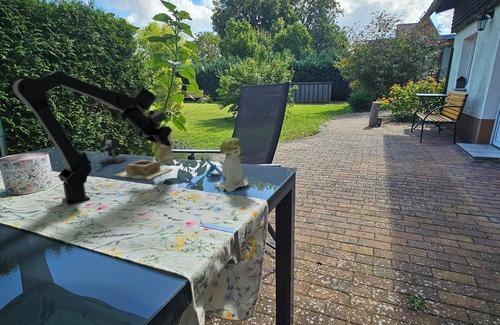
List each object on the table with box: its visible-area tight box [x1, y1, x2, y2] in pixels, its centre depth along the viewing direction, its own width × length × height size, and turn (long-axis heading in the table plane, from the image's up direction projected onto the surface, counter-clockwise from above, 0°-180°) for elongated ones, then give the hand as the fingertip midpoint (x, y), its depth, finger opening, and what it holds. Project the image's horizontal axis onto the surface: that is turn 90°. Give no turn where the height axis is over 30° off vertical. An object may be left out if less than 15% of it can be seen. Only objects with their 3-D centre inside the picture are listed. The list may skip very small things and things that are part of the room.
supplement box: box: [153, 142, 159, 161], centre depth 146 cm, size 6×6×11 cm
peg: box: [157, 132, 174, 165], centre depth 114 cm, size 4×4×14 cm
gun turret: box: [99, 136, 128, 165], centre depth 142 cm, size 13×20×13 cm, turn 14°
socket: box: [113, 159, 173, 181], centre depth 123 cm, size 18×16×5 cm
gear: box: [204, 158, 222, 177], centre depth 119 cm, size 11×6×10 cm
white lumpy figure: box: [213, 137, 250, 193], centre depth 103 cm, size 12×13×18 cm
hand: (167, 145), depth 115 cm, fingers closed on peg, 4 cm apart
